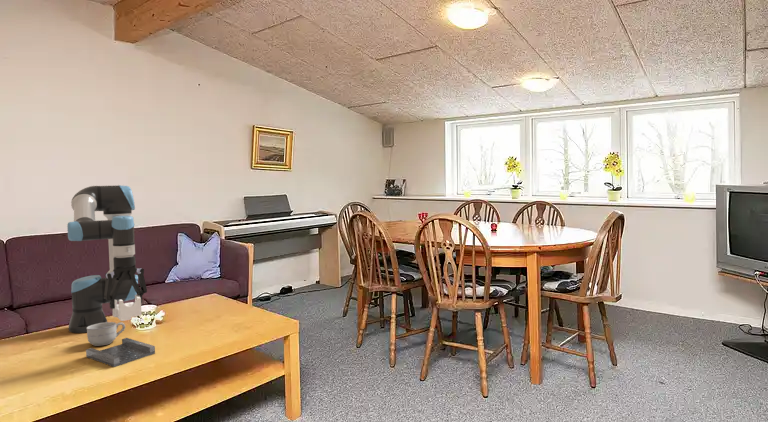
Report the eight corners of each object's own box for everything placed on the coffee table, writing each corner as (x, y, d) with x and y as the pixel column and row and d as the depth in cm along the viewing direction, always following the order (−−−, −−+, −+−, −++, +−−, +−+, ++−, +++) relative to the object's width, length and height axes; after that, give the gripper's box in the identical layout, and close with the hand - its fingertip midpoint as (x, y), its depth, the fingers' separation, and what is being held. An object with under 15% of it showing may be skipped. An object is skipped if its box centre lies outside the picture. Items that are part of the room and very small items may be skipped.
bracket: (141, 317, 188) (140, 298, 188) (121, 321, 184) (120, 301, 183) (133, 310, 198) (132, 292, 198) (113, 313, 194) (112, 294, 193)
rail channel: (86, 357, 188) (85, 349, 188) (127, 344, 202) (126, 337, 202) (114, 367, 178) (113, 358, 178) (155, 353, 192) (154, 346, 192)
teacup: (86, 350, 196) (85, 330, 196) (88, 342, 206) (87, 323, 205) (125, 344, 203) (125, 325, 202) (125, 336, 212) (125, 318, 212)
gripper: (99, 260, 180) (102, 321, 181) (155, 253, 196) (157, 310, 197) (91, 258, 185) (94, 318, 186) (146, 251, 201) (148, 307, 202)
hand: (126, 314), depth 192 cm, fingers closed on bracket, 8 cm apart
